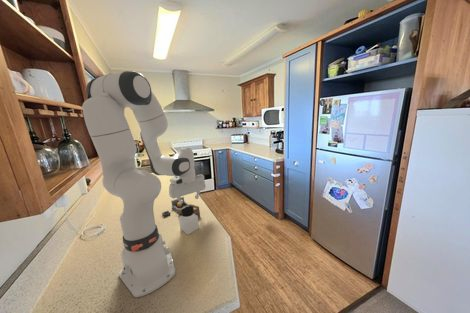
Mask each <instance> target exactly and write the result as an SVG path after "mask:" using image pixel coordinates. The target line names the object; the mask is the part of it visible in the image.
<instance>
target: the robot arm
mask: <svg viewBox="0 0 470 313" xmlns="http://www.w3.org/2000/svg"><path fill="white" fill-rule="evenodd" d="M85 92H86V100H84V102H83V103H82V104H81V105H82V106H81V108H82V114H83V119H84V122H85V126H86V128H87V131H88V134H89V136H90V139H91V141H92V143H93V146H94V148H95V150H96V152H97V156H98V158H99V161H100V166H101V171H102V176H103V177H102V185H103V188H104V189H105V191H107V192H108V193H109V194H110V195H112V196H114V197H117V198H120V199H121V200H122V202H123V207H122V213H121V214H120V217H119V221H120V226H121V230H122V231H121V232H122V244H123V246H124V247H123V250H122V251H121V252H120V256H121V261H122V266H123V268H121V270H119V272H118V277H119V279H120V280H121V281H122V282H123V284H124V285H125V286H126V287H127V289H128V290H129V292H130V293H131V294H132V296H133V297H134V298H140V297H144V296H146V295H148V294H150V293H152V292H154V291H156V290H158V289H159V288H161V287H163V286H164V285H165V284H166V283H168V282H169V281H170V280H171V279H173V277H174V276H175V274H176V273H177V271H176V268H175V264H174V260H173V258H172V257H173V256H172V252H171V249H170V247H166V246H164V245H166V240H163V238H162V234H161V233H159V228H158V225H157V224H156V221H155V220H156V218H155V214H154V204H155V201H156V199H157V198H158V196H159V195H160V194H161V191H162V182H161V180H160V178H159V177H158V176H169V177H171V178H170V179H169V182H170V184H169V187H168V192H169V193H168V195H169V197H170V198H171V199H173V200H175V199H178V200H179V203H180V204H183V200H180V198H181V197H184V196H187V195H190V194H193V193H196V194H195V195H194V198H195V200H197V199H200V198H199V197H200V196H199V195H200V194H201V191H204V190H205V189H206V182H205V175H204V174H202V173H200V174H199V173H198V174H196V170H195V155H194V152H193V149H192V148H188V147H179V148H178V149H177V151H176V153H174V154H173V155H172V156H167V155H164V154H162V152H161V149H160V146H159V144H158V141H157V140H158V138H159V137H161V136H163V135H164V134H165V133H166V131H167V129H168V127H169V126H168V125H169V123H168V119H167V117H166V114H165V111H164V110H163V108H162V105H161V103H160V102H159V100H158V98H157V97H156V95H155V94H154V92H153V91H152V87H151V84H150V82H149V80H148V79H147V78H146V77H145V76H144V75H143V74H142V73H140V72H138V71H133V70H126V71H122V72H114V73H113V72H112V73H108V74H104V75H101V76H98V77H94V78H93V79H90V81H89V82H88V83H87V84H86V87H85ZM126 108H129V109H130V110H131V111H132V113H133V115H134V119H135V120H136V121H137V123H138V126H139V128H140V139H141V142H142V144H143V147H144V149H145V152H146V155H147V157H148V160H149V166H150V169H151V170H150V171H151V172H152V173H151V172H150V171H147V170H141V169H138V168H137V167H136V166H137V165H136V160H135V158H136V154H137V151H138V148H137V145H136V142H135V139H134V137H133V134H132V131H131V128H130V126H129V123H128V119H127V118H126V115H125V109H126Z"/></svg>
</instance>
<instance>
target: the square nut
mask: <svg viewBox="0 0 470 313" xmlns="http://www.w3.org/2000/svg"><path fill="white" fill-rule="evenodd" d="M161 214H162V217H164V218H166V217H168V216H171V211H169V210H166V211H163V212H161Z"/></svg>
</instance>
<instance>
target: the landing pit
mask: <svg viewBox="0 0 470 313" xmlns="http://www.w3.org/2000/svg"><path fill="white" fill-rule="evenodd" d="M180 200H183V204H182V206H181V207H178V206H177V203H178V202H179V200H178V199H177V198H174V199H173V200H171V201H170V202H171V208H172V209H173V210H174V211H175V212H177V214H179V213H178V208H180V209H182V208H183V207H185V206H190V205H189V204H190V203H188V202H186V200H185V197H184V196H181V198H180Z"/></svg>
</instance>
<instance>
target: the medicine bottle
mask: <svg viewBox="0 0 470 313" xmlns="http://www.w3.org/2000/svg"><path fill="white" fill-rule="evenodd" d="M181 213H182V214H181V215H179V217H178V222H179V229H180V231H182V232H184V233H185V234H186V235H190V234H191V233H193V232H195V231H197V230H198V229H199V228H200V224H199V223H200V222H199V221H200V220H199V217H198V216H197V215H195V214H194V209H193V207H192V206H185V207H183V208H182V209H181Z"/></svg>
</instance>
